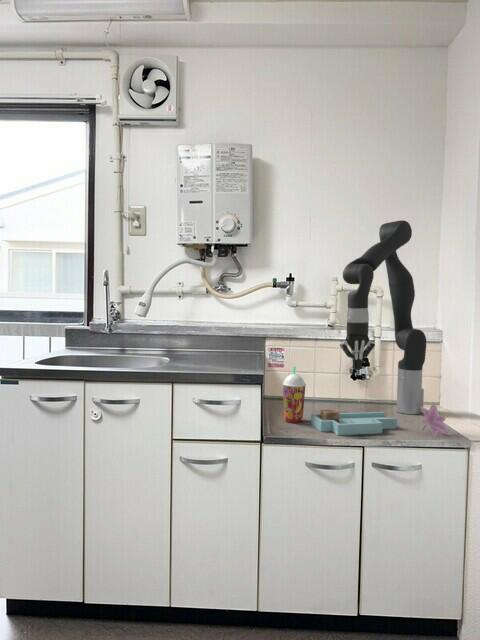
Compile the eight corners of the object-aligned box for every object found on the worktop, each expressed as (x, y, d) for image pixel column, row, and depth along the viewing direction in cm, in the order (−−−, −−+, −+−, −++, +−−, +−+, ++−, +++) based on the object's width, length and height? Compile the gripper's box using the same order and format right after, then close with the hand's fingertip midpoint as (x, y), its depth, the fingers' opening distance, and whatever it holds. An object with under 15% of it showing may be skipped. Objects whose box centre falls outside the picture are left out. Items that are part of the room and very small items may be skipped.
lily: (413, 439, 173) (428, 417, 169) (404, 417, 184) (417, 396, 180) (445, 449, 175) (460, 428, 171) (434, 427, 186) (448, 406, 182)
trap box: (383, 421, 193) (383, 411, 192) (404, 432, 178) (404, 422, 178) (310, 424, 187) (311, 414, 187) (326, 435, 172) (326, 425, 172)
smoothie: (278, 419, 193) (279, 365, 192) (298, 417, 196) (299, 364, 195) (287, 424, 185) (289, 368, 184) (308, 423, 188) (310, 367, 187)
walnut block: (333, 419, 186) (333, 409, 186) (339, 422, 182) (339, 412, 181) (320, 419, 185) (320, 409, 185) (325, 423, 181) (325, 413, 180)
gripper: (369, 319, 190) (369, 367, 191) (335, 320, 187) (335, 368, 188) (379, 321, 182) (379, 370, 183) (344, 322, 179) (344, 372, 180)
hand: (357, 369), depth 186 cm, fingers closed
